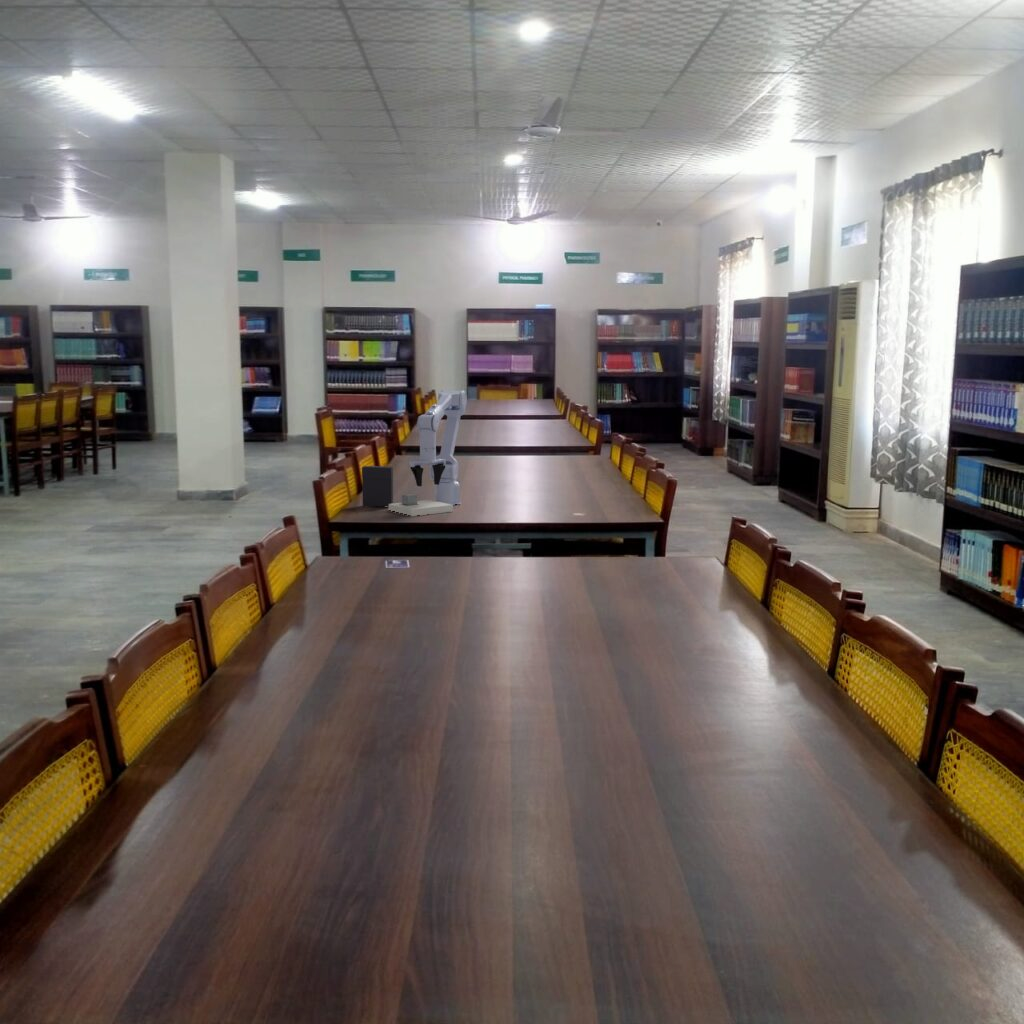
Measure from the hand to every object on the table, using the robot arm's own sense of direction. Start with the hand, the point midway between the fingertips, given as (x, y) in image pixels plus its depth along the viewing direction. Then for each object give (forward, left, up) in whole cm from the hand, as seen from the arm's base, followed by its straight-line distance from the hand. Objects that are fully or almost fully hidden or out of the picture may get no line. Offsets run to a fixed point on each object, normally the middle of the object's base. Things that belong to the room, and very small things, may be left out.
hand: (428, 485), depth 353 cm
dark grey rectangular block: (+10, -18, -10) cm, 23 cm away
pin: (+6, -3, -9) cm, 12 cm away
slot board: (+3, 0, -9) cm, 10 cm away
